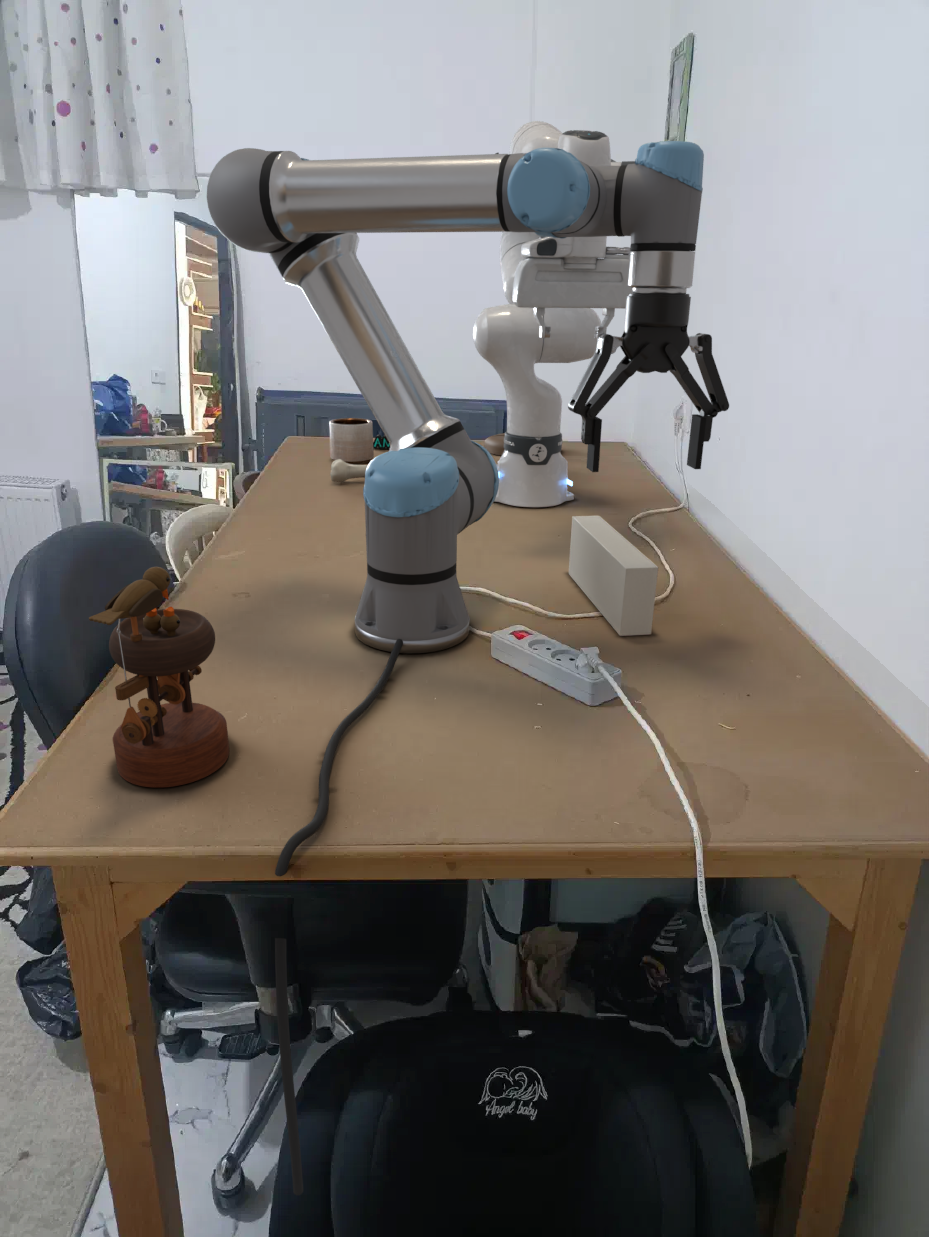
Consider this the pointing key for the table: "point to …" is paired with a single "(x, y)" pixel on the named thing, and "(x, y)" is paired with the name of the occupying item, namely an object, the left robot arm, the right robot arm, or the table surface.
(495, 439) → the ice cream bar
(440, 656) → the table surface
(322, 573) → the table surface
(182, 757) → the music box
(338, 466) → the dog toy
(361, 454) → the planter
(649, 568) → the bar
